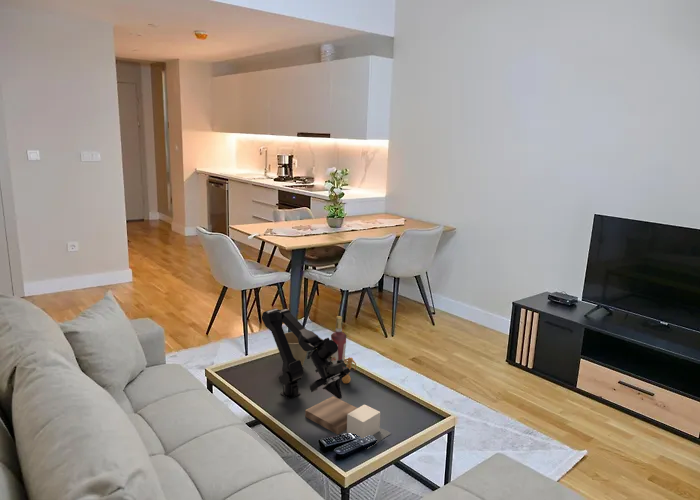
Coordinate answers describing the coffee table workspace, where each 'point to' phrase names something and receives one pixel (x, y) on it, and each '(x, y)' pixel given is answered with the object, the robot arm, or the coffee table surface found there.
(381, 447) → the coffee table surface
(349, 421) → the beige block
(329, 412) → the walnut board
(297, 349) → the plant pot
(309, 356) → the robot arm
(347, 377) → the figurine
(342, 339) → the liquor
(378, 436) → the mat
